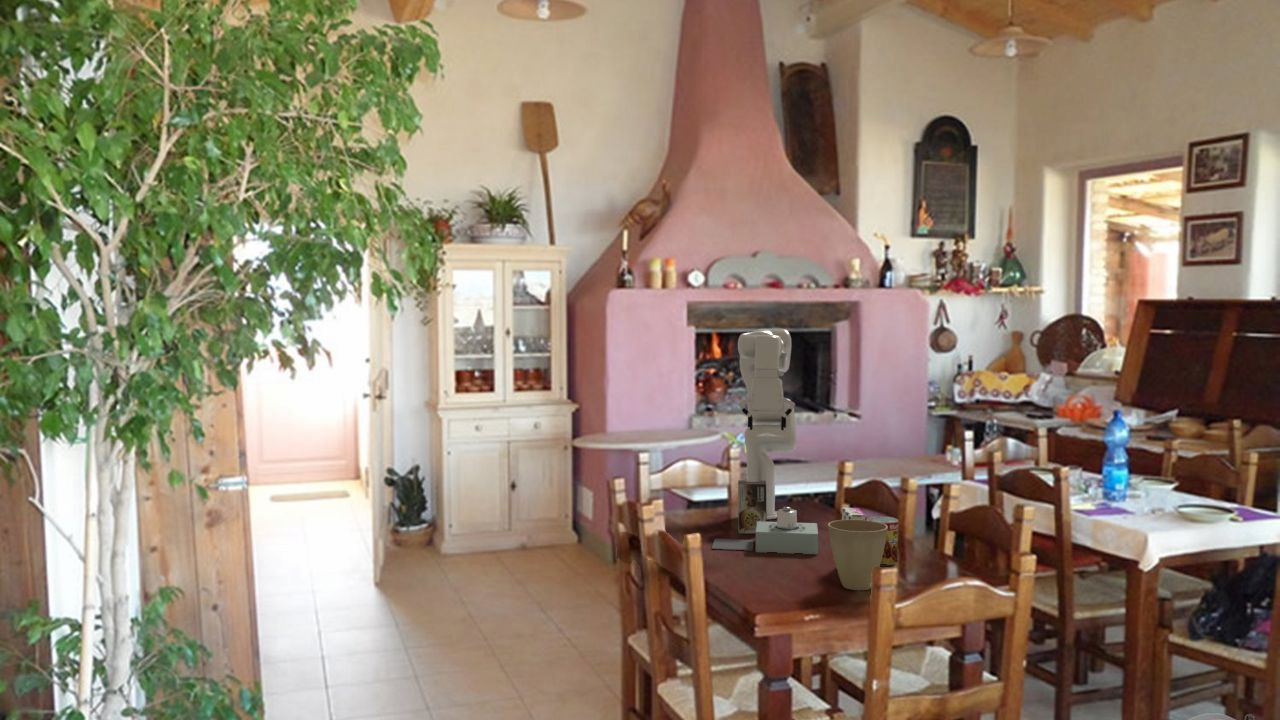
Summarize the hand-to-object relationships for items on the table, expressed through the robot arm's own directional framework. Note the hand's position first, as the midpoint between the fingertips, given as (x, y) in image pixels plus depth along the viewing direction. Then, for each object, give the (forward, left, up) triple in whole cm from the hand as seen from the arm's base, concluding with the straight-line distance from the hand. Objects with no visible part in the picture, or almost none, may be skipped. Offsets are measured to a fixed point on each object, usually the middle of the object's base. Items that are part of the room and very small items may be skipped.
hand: (766, 429), depth 296 cm
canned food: (+24, +33, -34) cm, 53 cm away
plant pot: (+50, +24, -34) cm, 65 cm away
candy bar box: (+35, +24, -34) cm, 55 cm away
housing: (+12, +6, -34) cm, 36 cm away
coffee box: (-7, -5, -34) cm, 35 cm away
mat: (+12, -10, -34) cm, 37 cm away
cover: (+12, +6, -32) cm, 34 cm away
